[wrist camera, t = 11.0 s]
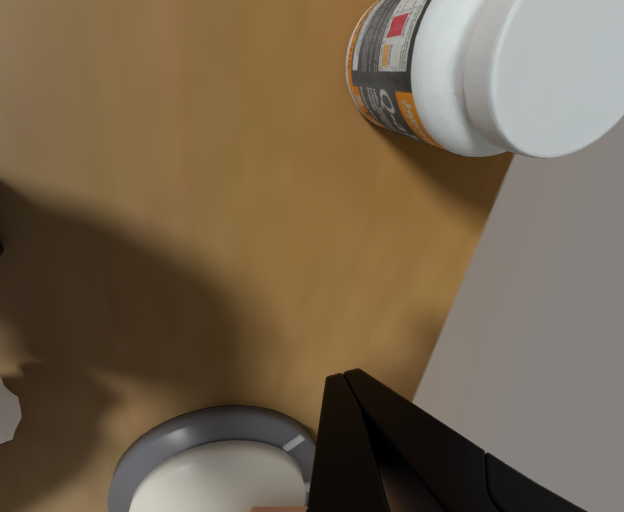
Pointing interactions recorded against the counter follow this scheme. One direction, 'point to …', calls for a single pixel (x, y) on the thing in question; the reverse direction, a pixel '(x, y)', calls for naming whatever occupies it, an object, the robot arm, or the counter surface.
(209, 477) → the dial
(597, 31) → the pill bottle
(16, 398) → the white bottle
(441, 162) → the counter surface
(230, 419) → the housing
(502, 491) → the robot arm
